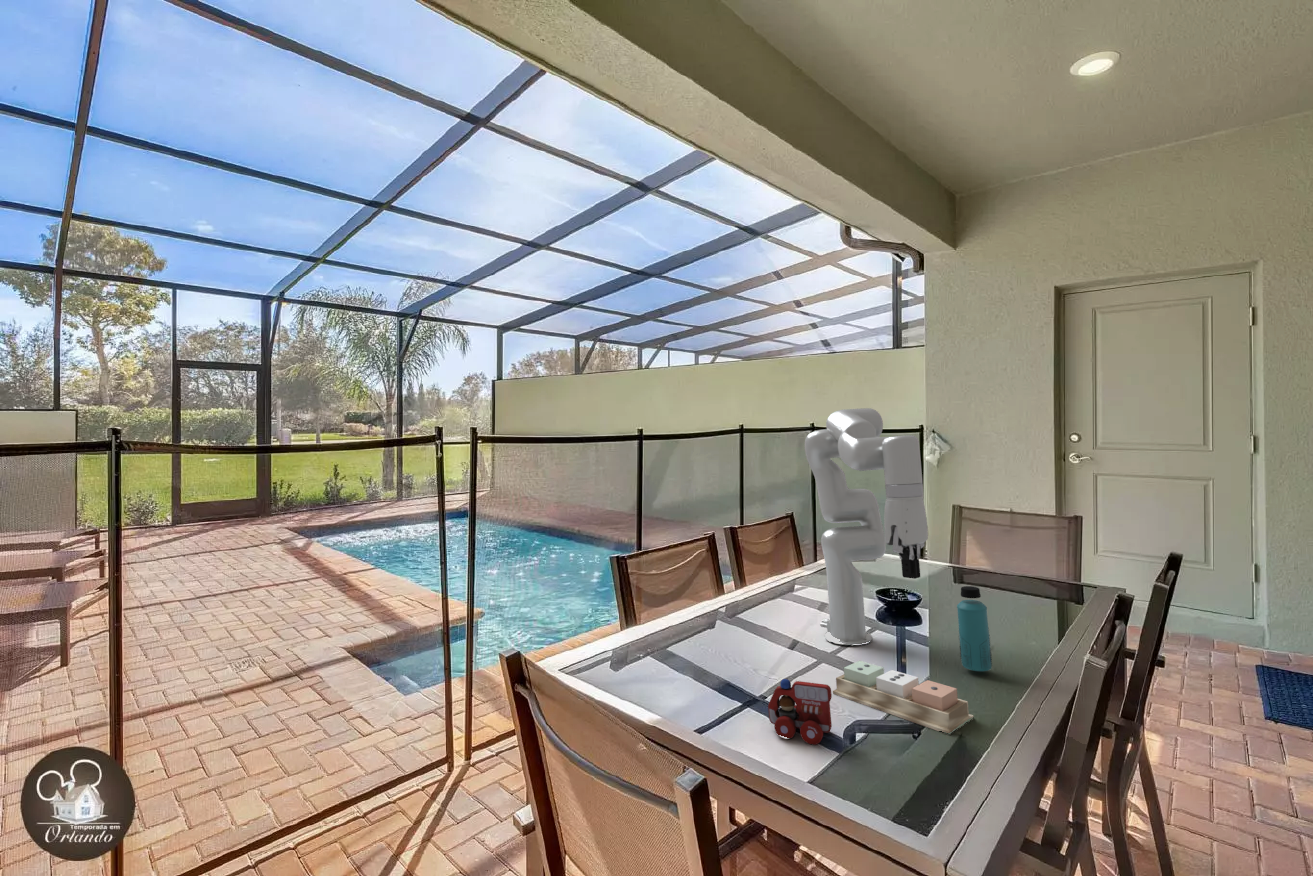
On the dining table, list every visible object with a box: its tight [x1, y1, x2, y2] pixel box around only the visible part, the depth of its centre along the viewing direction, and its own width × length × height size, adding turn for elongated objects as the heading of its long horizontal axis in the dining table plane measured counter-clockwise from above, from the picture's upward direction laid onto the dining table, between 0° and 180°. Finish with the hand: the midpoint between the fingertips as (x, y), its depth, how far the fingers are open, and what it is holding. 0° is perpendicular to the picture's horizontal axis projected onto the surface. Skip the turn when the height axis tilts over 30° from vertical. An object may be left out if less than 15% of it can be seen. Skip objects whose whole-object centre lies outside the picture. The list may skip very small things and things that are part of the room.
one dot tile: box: [912, 679, 959, 712], centre depth 116 cm, size 6×6×4 cm
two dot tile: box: [843, 660, 885, 687], centre depth 129 cm, size 6×6×4 cm
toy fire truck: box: [767, 678, 833, 746], centre depth 113 cm, size 7×12×10 cm, turn 60°
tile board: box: [832, 674, 975, 733], centre depth 122 cm, size 26×10×3 cm, turn 37°
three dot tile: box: [876, 669, 920, 699], centre depth 122 cm, size 6×6×4 cm
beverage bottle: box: [956, 585, 993, 672], centre depth 137 cm, size 6×7×20 cm
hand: (911, 577), depth 126 cm, fingers closed
